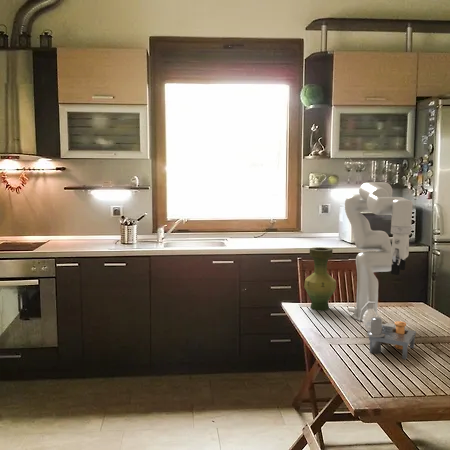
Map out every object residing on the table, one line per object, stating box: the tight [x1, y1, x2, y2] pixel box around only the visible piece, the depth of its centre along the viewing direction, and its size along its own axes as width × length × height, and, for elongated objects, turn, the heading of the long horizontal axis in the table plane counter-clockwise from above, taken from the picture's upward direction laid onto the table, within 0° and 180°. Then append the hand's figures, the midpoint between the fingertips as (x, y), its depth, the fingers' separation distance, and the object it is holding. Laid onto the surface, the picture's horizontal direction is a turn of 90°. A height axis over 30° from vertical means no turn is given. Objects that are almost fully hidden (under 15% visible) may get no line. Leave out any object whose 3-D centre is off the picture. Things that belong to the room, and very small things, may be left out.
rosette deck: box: [366, 317, 417, 360], centre depth 192 cm, size 18×17×13 cm
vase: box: [303, 246, 337, 312], centre depth 249 cm, size 16×16×30 cm
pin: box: [394, 321, 407, 350], centre depth 194 cm, size 4×4×10 cm
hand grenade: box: [358, 302, 378, 332], centre depth 214 cm, size 8×6×13 cm
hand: (398, 271), depth 201 cm, fingers open, 9 cm apart
